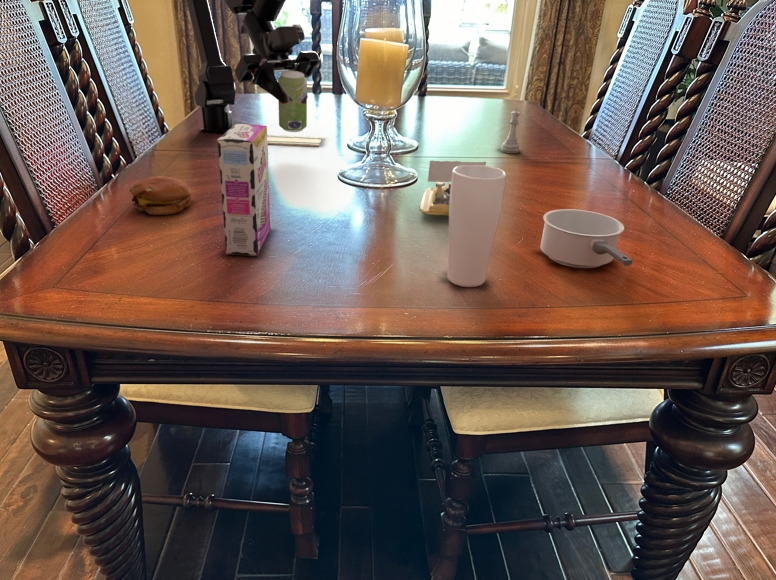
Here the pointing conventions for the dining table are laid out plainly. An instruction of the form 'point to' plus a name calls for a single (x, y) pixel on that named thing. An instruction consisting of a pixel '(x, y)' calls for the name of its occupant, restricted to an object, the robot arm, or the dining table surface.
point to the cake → (440, 187)
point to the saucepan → (582, 238)
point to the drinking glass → (473, 221)
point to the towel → (293, 140)
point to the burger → (161, 195)
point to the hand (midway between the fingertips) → (295, 100)
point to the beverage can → (293, 101)
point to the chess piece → (512, 135)
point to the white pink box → (245, 188)
